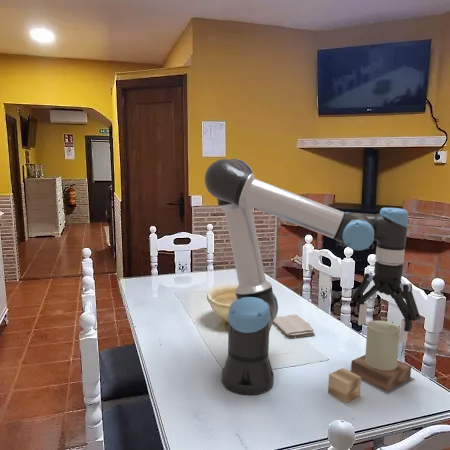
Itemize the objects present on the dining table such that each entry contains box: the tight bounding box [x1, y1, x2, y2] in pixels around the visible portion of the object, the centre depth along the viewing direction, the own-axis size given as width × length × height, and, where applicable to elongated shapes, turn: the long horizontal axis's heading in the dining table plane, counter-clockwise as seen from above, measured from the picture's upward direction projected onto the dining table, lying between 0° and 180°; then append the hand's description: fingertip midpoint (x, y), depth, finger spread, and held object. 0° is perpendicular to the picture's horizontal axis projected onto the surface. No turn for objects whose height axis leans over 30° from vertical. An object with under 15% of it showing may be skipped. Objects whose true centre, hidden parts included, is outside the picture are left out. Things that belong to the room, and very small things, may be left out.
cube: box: [327, 367, 362, 404], centre depth 111 cm, size 6×6×6 cm
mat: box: [349, 370, 415, 395], centre depth 122 cm, size 14×14×1 cm
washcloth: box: [272, 314, 316, 339], centre depth 156 cm, size 12×18×3 cm, turn 17°
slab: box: [350, 354, 412, 391], centre depth 121 cm, size 12×12×4 cm
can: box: [364, 320, 401, 371], centre depth 120 cm, size 9×9×12 cm
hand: (381, 332), depth 120 cm, fingers open, 13 cm apart
